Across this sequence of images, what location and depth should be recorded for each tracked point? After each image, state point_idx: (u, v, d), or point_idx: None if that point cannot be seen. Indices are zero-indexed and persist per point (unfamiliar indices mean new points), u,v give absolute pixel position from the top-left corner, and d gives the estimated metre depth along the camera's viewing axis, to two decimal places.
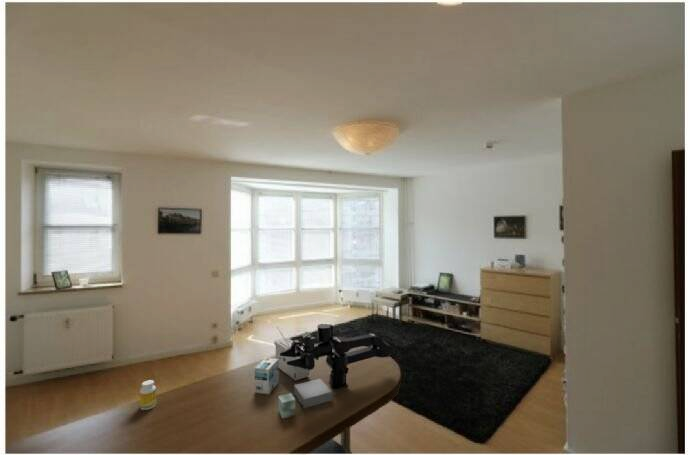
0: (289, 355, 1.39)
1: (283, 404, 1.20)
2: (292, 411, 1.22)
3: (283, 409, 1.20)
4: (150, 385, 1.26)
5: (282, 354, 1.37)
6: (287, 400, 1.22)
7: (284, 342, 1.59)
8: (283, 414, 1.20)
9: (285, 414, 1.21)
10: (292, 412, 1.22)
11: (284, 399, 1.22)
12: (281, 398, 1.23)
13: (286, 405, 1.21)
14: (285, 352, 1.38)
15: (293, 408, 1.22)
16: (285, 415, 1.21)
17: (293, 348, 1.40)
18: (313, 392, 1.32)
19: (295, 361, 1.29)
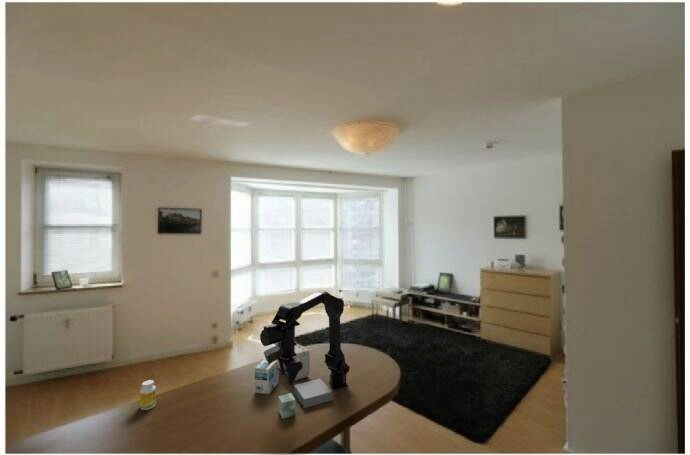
0: None
1: (283, 404, 1.20)
2: (292, 411, 1.22)
3: (283, 409, 1.20)
4: (150, 385, 1.26)
5: (283, 372, 1.27)
6: (287, 400, 1.22)
7: None
8: (283, 414, 1.20)
9: (285, 414, 1.21)
10: (292, 412, 1.22)
11: (284, 399, 1.22)
12: (281, 398, 1.23)
13: (286, 405, 1.21)
14: (282, 368, 1.27)
15: (293, 408, 1.22)
16: (285, 415, 1.21)
17: (280, 359, 1.27)
18: (313, 392, 1.32)
19: (290, 377, 1.18)
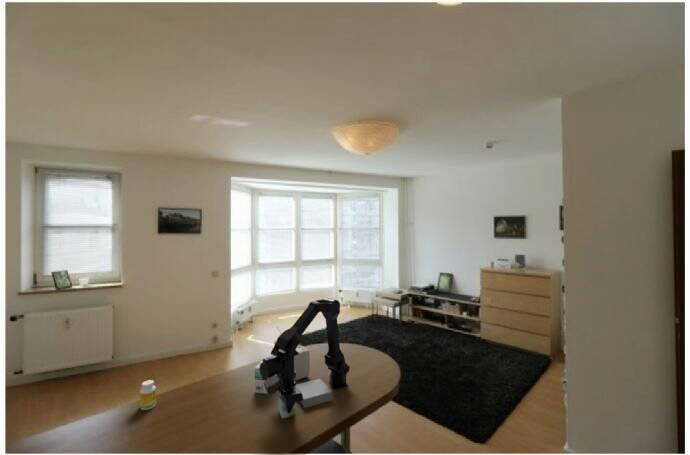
0: None
1: (283, 404, 1.20)
2: (292, 410, 1.22)
3: (283, 409, 1.20)
4: (150, 385, 1.26)
5: None
6: None
7: None
8: (283, 414, 1.20)
9: (285, 413, 1.21)
10: (292, 412, 1.22)
11: None
12: (281, 398, 1.23)
13: None
14: None
15: (293, 408, 1.22)
16: (285, 415, 1.21)
17: (281, 390, 1.26)
18: (313, 392, 1.32)
19: (288, 406, 1.20)
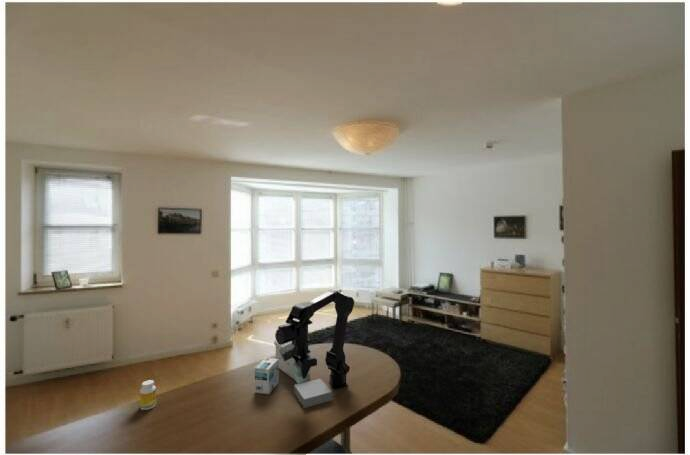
0: None
1: (298, 370, 1.26)
2: (306, 376, 1.28)
3: (298, 375, 1.26)
4: (150, 385, 1.26)
5: None
6: None
7: None
8: (298, 379, 1.26)
9: (300, 379, 1.27)
10: (307, 377, 1.28)
11: None
12: (296, 365, 1.29)
13: None
14: None
15: (308, 374, 1.28)
16: (300, 380, 1.27)
17: (296, 357, 1.31)
18: (313, 392, 1.32)
19: (303, 371, 1.26)
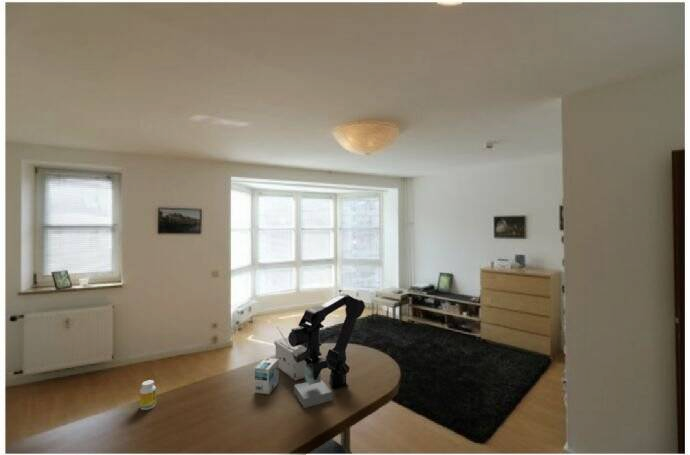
0: None
1: (310, 371, 1.31)
2: (318, 378, 1.33)
3: (310, 376, 1.31)
4: (150, 385, 1.26)
5: None
6: None
7: (284, 342, 1.59)
8: (310, 380, 1.32)
9: (312, 380, 1.32)
10: (318, 379, 1.33)
11: (310, 367, 1.34)
12: (308, 366, 1.34)
13: None
14: None
15: (319, 375, 1.33)
16: (312, 381, 1.32)
17: (307, 360, 1.37)
18: (313, 392, 1.32)
19: (315, 373, 1.31)
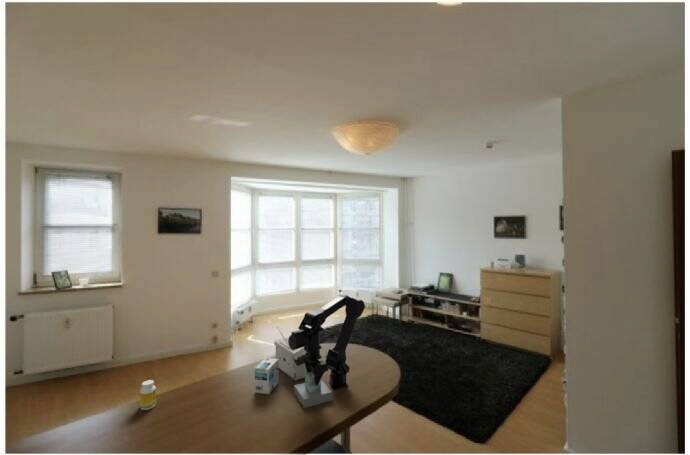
0: None
1: (310, 379, 1.31)
2: (318, 386, 1.33)
3: (310, 384, 1.32)
4: (150, 385, 1.26)
5: None
6: None
7: (284, 342, 1.59)
8: (310, 388, 1.32)
9: (312, 388, 1.32)
10: (318, 387, 1.33)
11: (311, 375, 1.34)
12: (308, 374, 1.34)
13: (313, 380, 1.32)
14: (308, 370, 1.38)
15: (319, 383, 1.33)
16: (312, 389, 1.32)
17: (306, 361, 1.38)
18: (313, 392, 1.32)
19: (316, 378, 1.30)
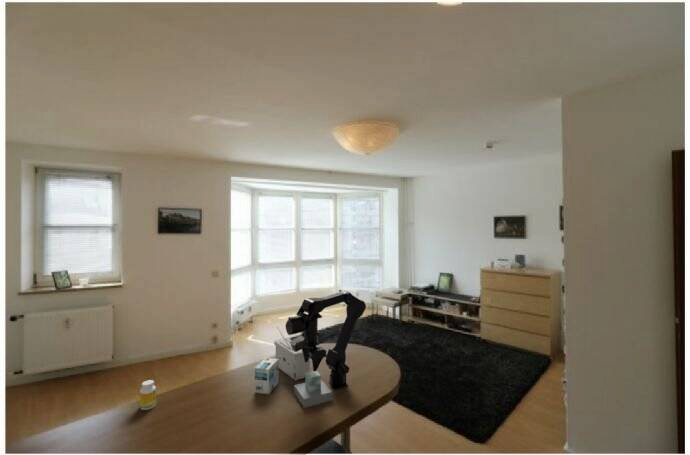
0: (309, 351, 1.40)
1: (310, 379, 1.32)
2: (318, 386, 1.33)
3: (310, 384, 1.32)
4: (150, 385, 1.26)
5: (306, 360, 1.39)
6: (313, 376, 1.33)
7: (284, 342, 1.59)
8: (310, 388, 1.32)
9: (312, 388, 1.32)
10: (318, 387, 1.33)
11: (311, 375, 1.34)
12: (308, 374, 1.34)
13: (313, 380, 1.32)
14: (305, 357, 1.39)
15: (319, 383, 1.33)
16: (312, 389, 1.32)
17: (303, 348, 1.39)
18: (313, 392, 1.32)
19: (315, 364, 1.30)
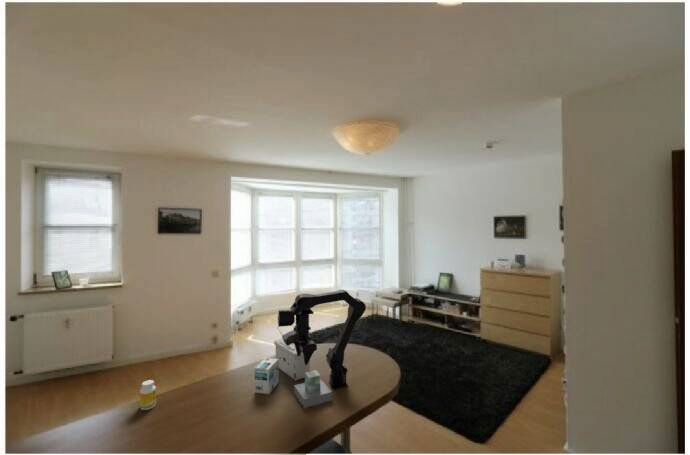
0: None
1: (309, 379, 1.32)
2: (317, 385, 1.33)
3: (309, 384, 1.32)
4: (150, 385, 1.26)
5: (299, 354, 1.44)
6: (313, 375, 1.33)
7: None
8: (309, 388, 1.32)
9: (311, 388, 1.32)
10: (317, 387, 1.33)
11: (310, 374, 1.34)
12: (307, 374, 1.35)
13: (312, 380, 1.32)
14: (298, 351, 1.44)
15: (318, 383, 1.34)
16: (311, 389, 1.32)
17: (296, 342, 1.43)
18: (313, 392, 1.32)
19: (306, 358, 1.34)
